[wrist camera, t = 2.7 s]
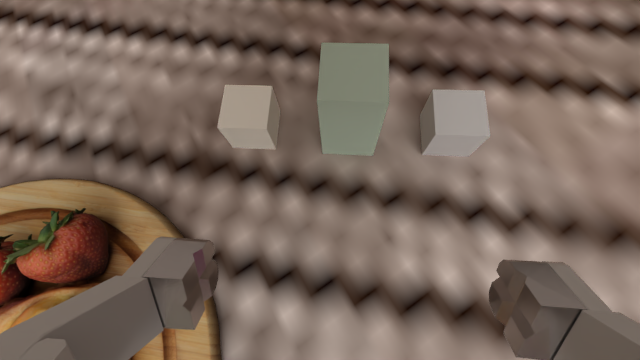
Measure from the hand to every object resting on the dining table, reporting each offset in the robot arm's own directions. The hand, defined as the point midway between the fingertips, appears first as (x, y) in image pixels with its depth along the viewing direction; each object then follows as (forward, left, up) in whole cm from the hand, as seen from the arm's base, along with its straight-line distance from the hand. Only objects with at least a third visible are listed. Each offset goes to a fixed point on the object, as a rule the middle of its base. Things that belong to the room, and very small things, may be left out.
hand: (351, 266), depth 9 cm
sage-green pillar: (-4, -12, -16) cm, 20 cm away
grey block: (-12, -9, -16) cm, 22 cm away
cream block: (+4, -14, -16) cm, 22 cm away
